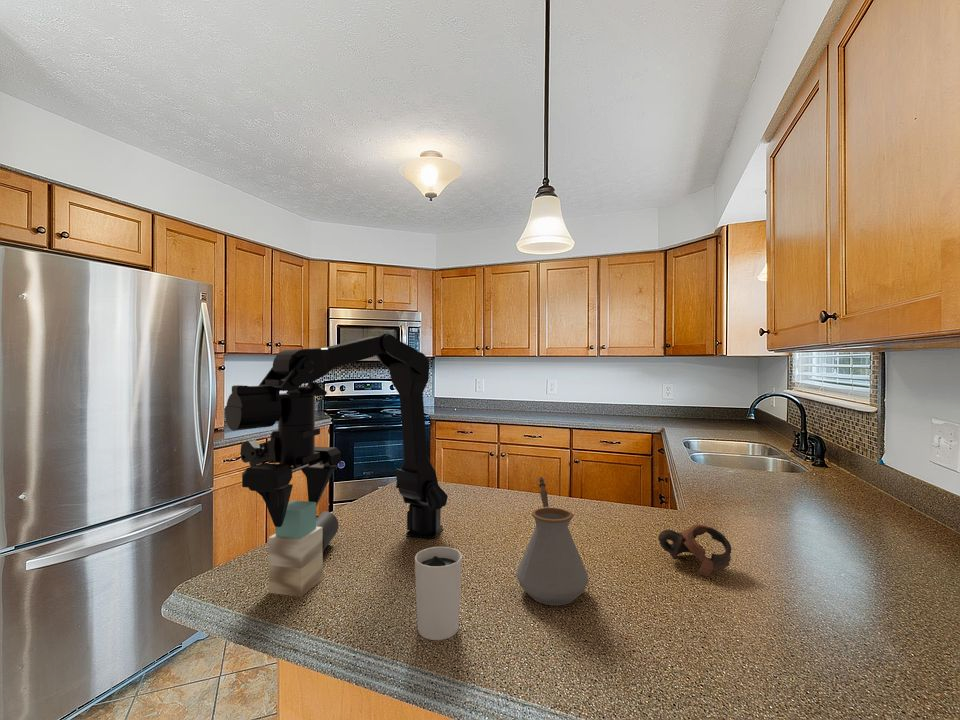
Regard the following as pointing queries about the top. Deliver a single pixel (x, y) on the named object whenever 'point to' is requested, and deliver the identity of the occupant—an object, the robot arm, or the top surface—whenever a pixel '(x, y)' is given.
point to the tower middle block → (295, 549)
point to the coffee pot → (552, 558)
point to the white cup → (438, 592)
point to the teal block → (298, 519)
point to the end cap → (327, 527)
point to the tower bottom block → (295, 578)
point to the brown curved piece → (697, 547)
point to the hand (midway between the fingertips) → (296, 516)
